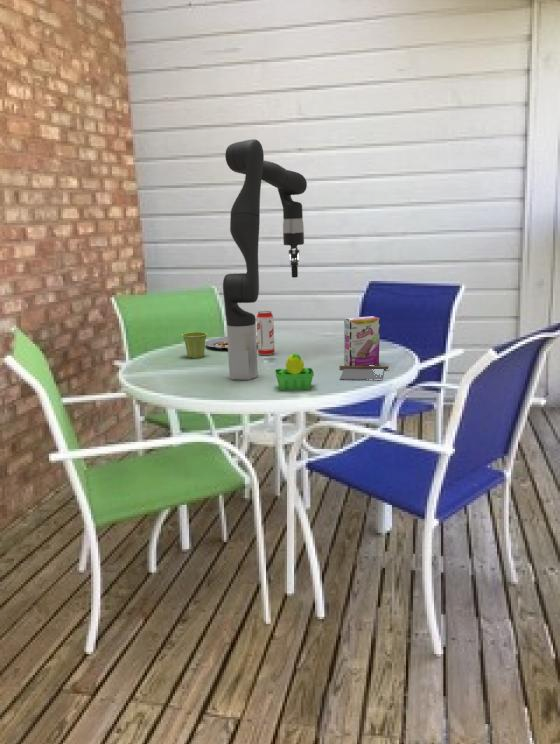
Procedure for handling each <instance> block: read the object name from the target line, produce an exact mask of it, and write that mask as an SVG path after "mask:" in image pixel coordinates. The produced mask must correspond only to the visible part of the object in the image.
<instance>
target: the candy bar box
mask: <svg viewBox="0 0 560 744" xmlns="http://www.w3.org/2000/svg"><path fill="white" fill-rule="evenodd" d="M380 319H381V318H380V317H378V316H373V315H372V316H359V317H358V316H357V317H345V318H344V323H343V325H344V327H343V329H344V331H343V333H344V336H343V337H344V338H343V339H344V340H343V341H344V342H343V343H344V345H343V346H344V347H343V348H344V349H343V350H344V351H343V353H344V354H343V355H344V356H343V357H344V358H343V359H344V360H343V361H344V362H343V363H344V364H343V366H369V365H375V364H379V365H380V331H381V330H380V329H381V327H380V325H381V324H380ZM375 366H376V365H375Z"/></svg>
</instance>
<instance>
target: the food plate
mask: <svg viewBox="0 0 560 744" xmlns="http://www.w3.org/2000/svg"><path fill="white" fill-rule="evenodd" d="M224 342H225V343H224ZM216 344H218V345H216ZM256 344H257V346H258V339H257V335H256ZM215 345H216V346H215ZM225 345H226V346H225ZM205 346H207V347H213V348H215V349H218V350H219V349H220V350H222V349H224V348H225V349H226V350H228V339H227V336H221V337H216V338H211V339H209V340H205Z"/></svg>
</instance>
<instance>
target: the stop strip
mask: <svg viewBox="0 0 560 744" xmlns="http://www.w3.org/2000/svg"><path fill="white" fill-rule="evenodd" d="M388 368H389V369H390V367H389V366H388V365H375V366H344V365H339V371H341V370H342V371H343V370H344V369H388Z"/></svg>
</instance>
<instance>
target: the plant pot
mask: <svg viewBox="0 0 560 744" xmlns="http://www.w3.org/2000/svg"><path fill="white" fill-rule="evenodd" d="M181 336H182V337H183V340H184V345H185V349H186V355H187V358H189V359H190V358H192V359H200V358H202V357H203V356H204V357H205V348H206V347H205V346H206V344H205V342H206V339H207V336H208V333H207V332H205V331H192V332H191V331H190V332H185V333H182V334H181Z"/></svg>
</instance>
